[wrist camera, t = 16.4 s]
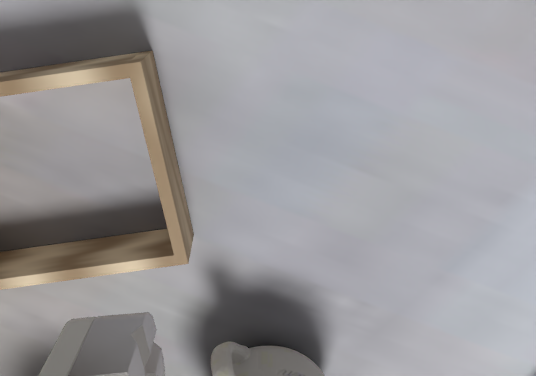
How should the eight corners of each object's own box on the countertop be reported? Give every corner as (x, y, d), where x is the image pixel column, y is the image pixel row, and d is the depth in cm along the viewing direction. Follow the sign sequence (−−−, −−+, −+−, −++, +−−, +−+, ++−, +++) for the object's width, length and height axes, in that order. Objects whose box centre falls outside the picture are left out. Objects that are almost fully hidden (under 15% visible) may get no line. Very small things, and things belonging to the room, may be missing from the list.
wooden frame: (152, 50, 32) (140, 61, 28) (193, 234, 38) (188, 263, 34) (-87, 85, 32) (-130, 100, 29) (-11, 262, 38) (-38, 294, 34)
